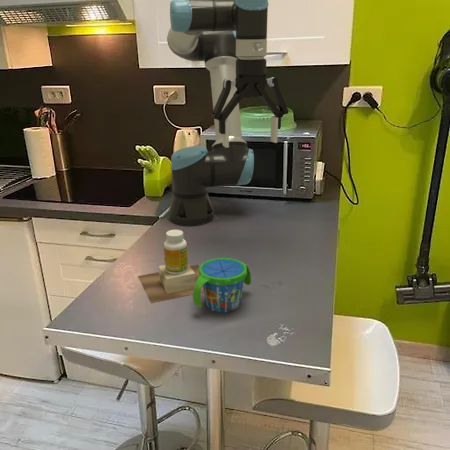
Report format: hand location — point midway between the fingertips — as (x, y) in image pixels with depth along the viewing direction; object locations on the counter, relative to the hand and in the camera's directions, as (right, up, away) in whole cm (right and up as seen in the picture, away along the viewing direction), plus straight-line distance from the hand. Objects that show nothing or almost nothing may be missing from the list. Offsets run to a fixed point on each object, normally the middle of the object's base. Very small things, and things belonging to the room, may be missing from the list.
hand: (250, 144), depth 126 cm
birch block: (-18, -36, -8) cm, 41 cm away
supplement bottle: (-18, -32, -10) cm, 38 cm away
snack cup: (-7, -40, -16) cm, 44 cm away
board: (-19, -36, -7) cm, 41 cm away
